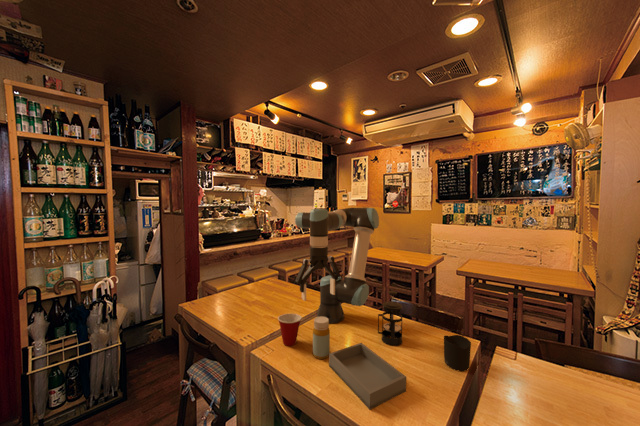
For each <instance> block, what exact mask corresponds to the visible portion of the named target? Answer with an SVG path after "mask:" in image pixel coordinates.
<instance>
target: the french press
mask: <svg viewBox="0 0 640 426" xmlns="http://www.w3.org/2000/svg"><path fill="white" fill-rule="evenodd" d="M387 293H388V294H389V295H391V301H390V300H388V301H387V300H386V301H384V302H383V303H382V306H383V309H382V310H384V312H382V313H378V314H377V334H379V335H381V342H382V343H383V344H385V345H387V346H391V347H399V346H402V344H403V315H402V314H401V313H400V312H401V310H402V309H403V308H404V306H403V304H402V303H400V302H398V301H394V296H395V295H398V292H397V291H394V290H389V291H387ZM386 315H389V318H388V317H386ZM394 315H395V316H398V317H400V318H398V319H397V318H395V319H394ZM380 317H382V318H381V319H382V321H381V323H382V325H381V331H379V330H380ZM384 321H386V322H385V323H384ZM398 323H401V325H399V324H398Z"/></svg>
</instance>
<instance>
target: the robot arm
mask: <svg viewBox="0 0 640 426" xmlns="http://www.w3.org/2000/svg"><path fill="white" fill-rule="evenodd" d="M379 218H380V217H379V213H378V211H377V209H376V208H374V207H347V208H346V207H345V208H340V209H335V210H333V211H329V210H328V209H326V208H313V209H311V210H310V211H309V212H305V211H302V212H298V213H297V214H296V215H295V219H294V220H295V221H294V222H295V223H294V224H295V225H296V227H297V228H299V229H300V228H301V229H309V245H310V246H309V259H308V258H307V259H306V258H303V259H302V263H301V267H300V269H299V271H298V273H297V276H296V278H295V280H294V281H295V282H296V283H297V284H299V291H300V293H301V299H302V300H303V301H304V302H306V301H307V284H306V283H307V280H308V279H309V278H310V277H311V275H312V273H313V272H314V271H315V270H319V269H321V270H322V269H325V271H326V272H327V273H328V275H326V276H323V277H321V278H320V281H319V282H320V285H319V289H320V290H319V295H320V297H319V301H320V303H319V306H318V310H317V312H316V317H320V316H323V317H327V318H328V319H329V324H338V323H341V322H343V321H344V319H345V313H344V310H343V307H342V304H348V305H351V306H356V307H362V306H363V305H364V304H365V303H366V302H367V299H368V298H369V294H370V286H369V285H368V284H367V280H366V278H365V273H366V266H367V261H368V260H367V259H368V255H369V247H370V242H371V241H370V240H371V236H372V234H374V232H375V230H376V229H378V228H379V224H380V219H379ZM342 226H344V227H348V228H353V231H354V232H355V234H354V239H353V244H352V250H351V256H350V263H349V268H348V274H346V275H345V276H344V279H342V276H341V273H340V271H339V269H338V268H339V267H338V266H337V265H336V262H335V257H334V256H332V255H329V247H328V245H329V234H328V233H329V231H332V230H333V231H335V230H338V229H341V227H342ZM328 255H329V256H328ZM328 262H329V264H330V266H329V264H328ZM308 265H309V266H308ZM330 267H331V268H332V269H331V268H330Z"/></svg>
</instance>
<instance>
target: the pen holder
mask: <svg viewBox="0 0 640 426" xmlns="http://www.w3.org/2000/svg"><path fill="white" fill-rule="evenodd" d="M471 345H472V342H471V341H470V340H469V339H468V338H467V337H465V336H462V335H460V334H454V335H447V334H446V335H444V336H443V359H444V360H443V361H444V363H445V365H446V366H447V367H448V366H449V367H448V368H450V369H452V370H454V369H455V371H457V370H459V371H458V372H465V371H464V370H466V371H468V370H469V369H470V365H471V364H470V361H471V348H472V347H471ZM468 368H469V369H468ZM467 369H468V370H467Z"/></svg>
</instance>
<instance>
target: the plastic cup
mask: <svg viewBox="0 0 640 426" xmlns="http://www.w3.org/2000/svg"><path fill="white" fill-rule="evenodd" d="M277 321H278V323H279V326H280V334H281V340H282V343H283V345H284V346H285V347H293V346H296V344H297V339H298V335H299V328H300V323H301V321H302V316H301V315H300V314H297V313H284V314H281V315H278V317H277Z"/></svg>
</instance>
